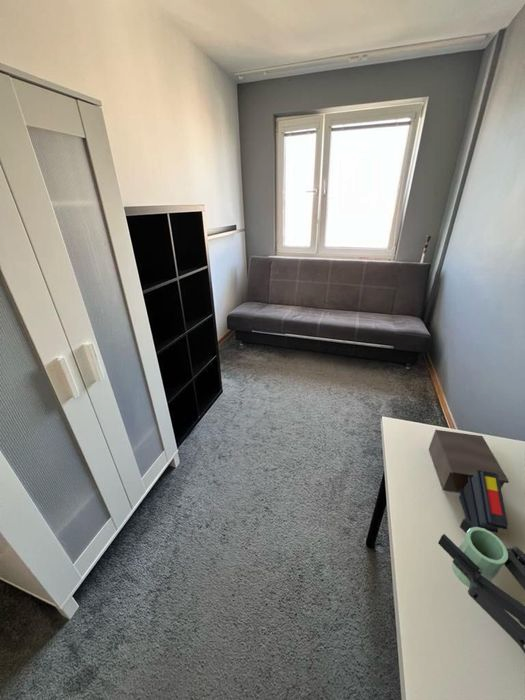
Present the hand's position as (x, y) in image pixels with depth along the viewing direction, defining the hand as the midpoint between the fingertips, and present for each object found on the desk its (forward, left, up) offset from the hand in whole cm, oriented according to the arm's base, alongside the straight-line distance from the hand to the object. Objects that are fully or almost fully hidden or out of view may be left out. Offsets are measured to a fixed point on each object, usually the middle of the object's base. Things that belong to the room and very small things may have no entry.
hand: (452, 530), depth 56 cm
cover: (-13, -27, -5) cm, 30 cm away
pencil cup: (-3, +4, -6) cm, 8 cm away
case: (-13, -27, -13) cm, 33 cm away
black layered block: (-12, -12, -13) cm, 21 cm away
